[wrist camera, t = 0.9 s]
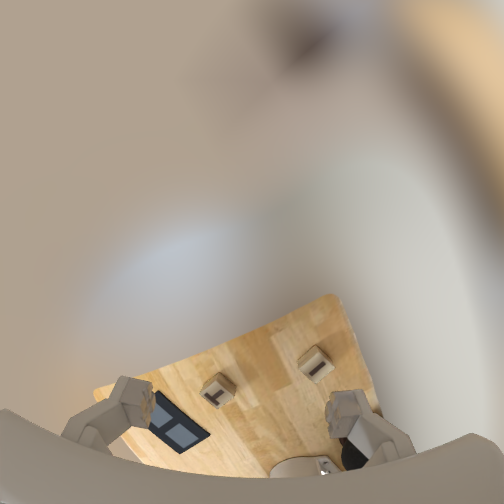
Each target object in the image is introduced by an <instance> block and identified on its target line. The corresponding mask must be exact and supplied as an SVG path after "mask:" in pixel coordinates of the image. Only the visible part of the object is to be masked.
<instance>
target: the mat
mask: <svg viewBox="0 0 504 504" xmlns="http://www.w3.org/2000/svg"><path fill="white" fill-rule="evenodd" d="M155 399H156V403H155V408H154V412H152V413H151V414H150V416H151V421H150V424H149V427H148V429H149V430H150V431H151V432H152V433H153V434H155V435H156V436H157V437H158V438H159V439H161V440H162V441H163V442H164V443H166V444H167V445H168V446H169V447H171V448H172V449H173V450H175V451H176V452H177V453H179V454H181V453H183V452H185V451H186V450H188V449H190V448H191V447H193V446H194V445H196V444H198V443H199V442H201V441H203V440H204V439H206V438H207V437H209V436H210V435H211V434H209V433H208V432H207V431H205V430H204V429H203V428H202V427H200V426H199V425H198V424H197V423H195V422H194V421H193V420H192V419H190V418H189V417H188V416H187V415H186V414H184V413H183V412H182V411H181V410H180V409H179V408H177V407H176V406H175V405H174V404H173V403H172V402H171V401H170V400H168V399H167V398H166V397H165V396H164V395H163V394H162V393H161V392H160V391H159V390H158V391H157V392H156V393H155Z"/></svg>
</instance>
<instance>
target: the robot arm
mask: <svg viewBox="0 0 504 504" xmlns="http://www.w3.org/2000/svg"><path fill="white" fill-rule="evenodd" d="M152 389H153V385H152V382H148V381H144V380H139V379H135V378H130V377H125V376H120V377H119V379H118V380H117V382H116V384H115V386H114V388H113V390H112V392H111V394H110V396H109V398H108V399H106V398H105V399H104V400H102V401H100V402H98V403H97V404H95V405H93V406H91V407H90V408H88V409H86V410H84V411H82V412H81V413H79V414H77V415H75V416H73V417H71V418H70V419H69V421H68V423H67V425H66V427H65V429H64V431H63V433H62V434H61V436H58V435H56V434H54V433H52V432H50V431H48V430H46V429H44V428H42V427H40V426H38V425H36V424H34V423H32V422H30V421H28V420H26V419H24V418H23V417H21V416H19V415H17V414H16V413H14V412H12V411H10V410H8V409H3V410H0V504H504V455H503V453H502V452H501V450H500V449H499V447H498V446H497V445H496V444H495V443H494V442H492V441H490V440H488V439H486V438H484V437H482V436H479V435H477V434H474V433H469V434H467V435H464V436H462V437H460V438H458V439H455V440H453V441H451V442H448V443H446V444H443V445H441V446H438V447H435V448H433V449H430V450H427V451H424V452H422V453H418V454H417V453H416V451H415V449H414V446H413V444H412V442H411V440H410V437H409V436H408V435H407V434H405V433H404V432H402V431H401V430H399V429H398V428H396V427H395V426H394V425H392V424H391V423H389V422H388V421H386V420H385V419H383V418H382V417H381V416H379V415H378V414H376V413H373V412H372V410H371V408H370V405H369V403H368V400H367V398H366V396H365V393H364V391H363V390H362V389H358V390H346V391H335V392H331V393H330V396H329V399H330V401H329V402H327V404H326V406H325V419H326V421H327V422H328V423H329V426H328V432H329V436H330V439H332V438H343V437H347V438H348V439H349V440H350V441H351V442H352V443H353V444H354V445H355V446H356V447H357V448H358V449H359V450H360V451H361V452H362V453H363V454H364V455H365V456H366V457H367V458H368V459H369V460H368V462H367V463H366V464H365V465H364V466H363V468H361V469H355V470H350V471H344V472H342V471H341V470H340V469H339V468H338V467H337V466H336V465H335V464H334V463H333V462H332V461H331V459H330V458H329V457H328V456H325V455H324V456H318V457H297V458H291V459H288V460H285V461H282V462H280V463H279V464H277V465H276V466H275V467H274V468H273V469H272V470H271V472H270V478H240V477H223V476H212V475H202V474H194V473H187V472H181V471H175V470H169V469H164V468H159V467H154V466H149V465H145V464H141V463H137V462H133V461H129V460H125V459H122V458H119V457H115V456H113V455H112V453H111V451H110V450H109V448H108V447H107V446H108V445H109V444H110V443H111V442H113V441H114V440H115V439H117V438H118V437H119V436H120V435H122V434H123V433H124V432H125V431H126V430H128V429H129V428H130V427H131V426H134V427H139V428H144V429H148V427H149V424H150V421H151V416H150V414H151V413H152V412H154V408H155V403H156V399H155V393H154V392H153V391H152Z"/></svg>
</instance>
